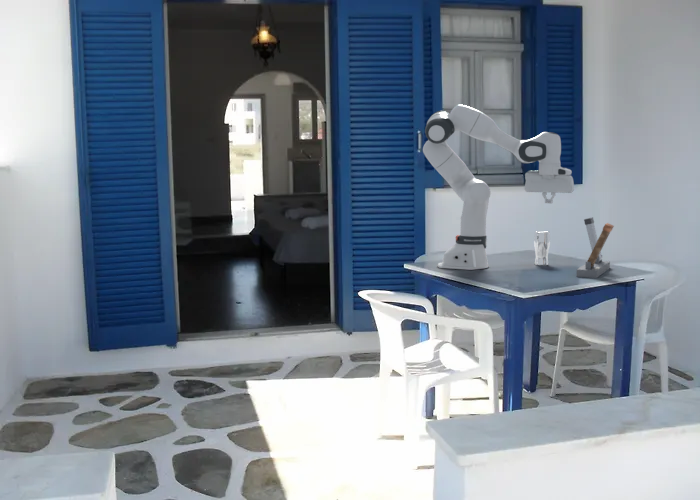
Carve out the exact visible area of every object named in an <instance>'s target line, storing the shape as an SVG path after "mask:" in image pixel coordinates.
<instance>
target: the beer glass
mask: <svg viewBox="0 0 700 500" xmlns="http://www.w3.org/2000/svg"><path fill="white" fill-rule="evenodd" d="M533 239H534V240H533V245H534V252H535V259H534V260H535V261H534V265H536V266H549V260H548V259H549V257H548V256H549V251H550V248H551V246H550V245H551V233H550V231H547V230H546V231H545V230H535V231H534V237H533Z"/></svg>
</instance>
